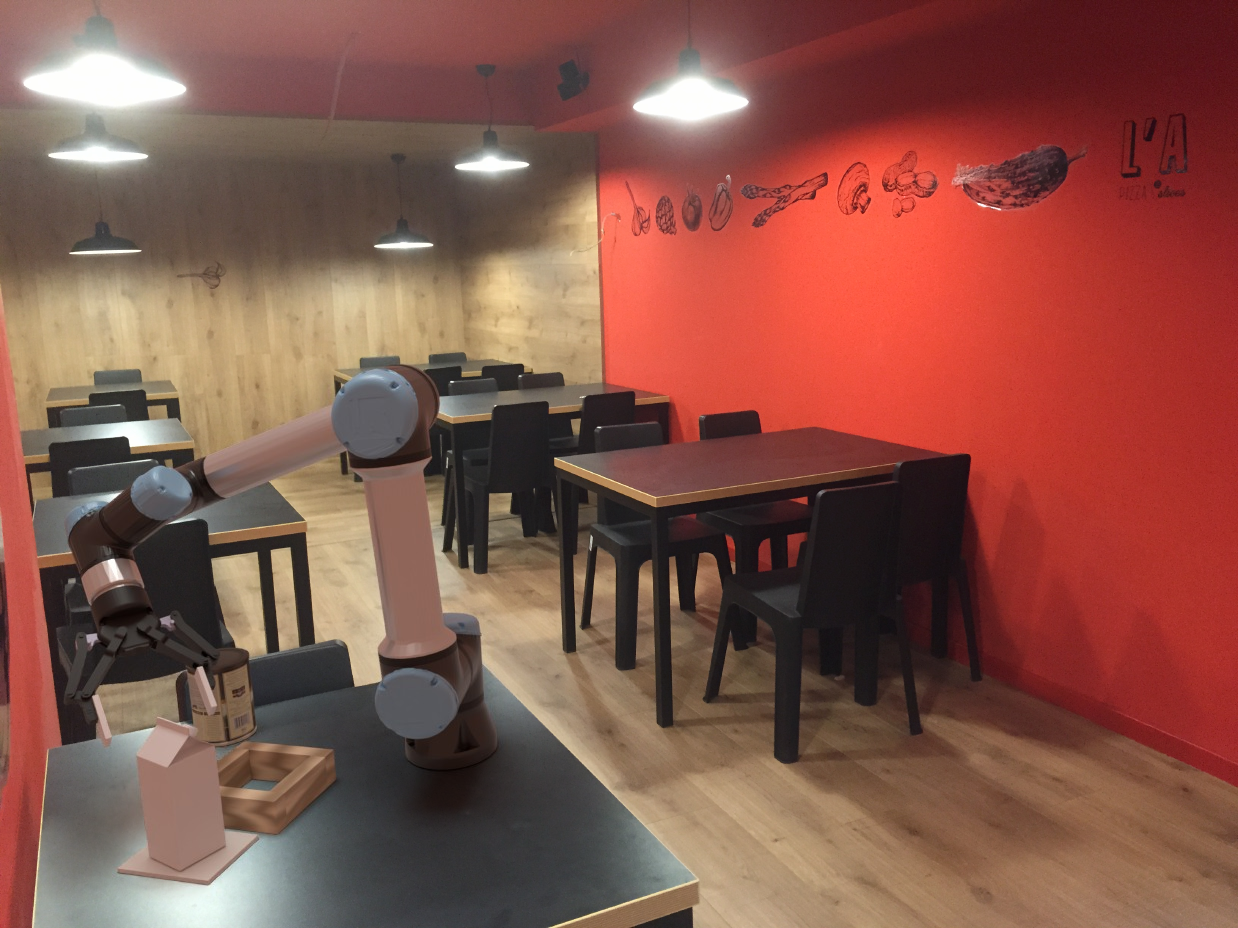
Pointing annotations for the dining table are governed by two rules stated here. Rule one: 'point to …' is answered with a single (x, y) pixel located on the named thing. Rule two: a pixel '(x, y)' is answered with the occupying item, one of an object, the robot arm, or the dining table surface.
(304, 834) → the dining table surface
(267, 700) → the dining table surface
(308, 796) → the frame
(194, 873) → the pink mat
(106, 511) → the robot arm
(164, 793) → the milk carton
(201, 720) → the coffee can
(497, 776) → the dining table surface
